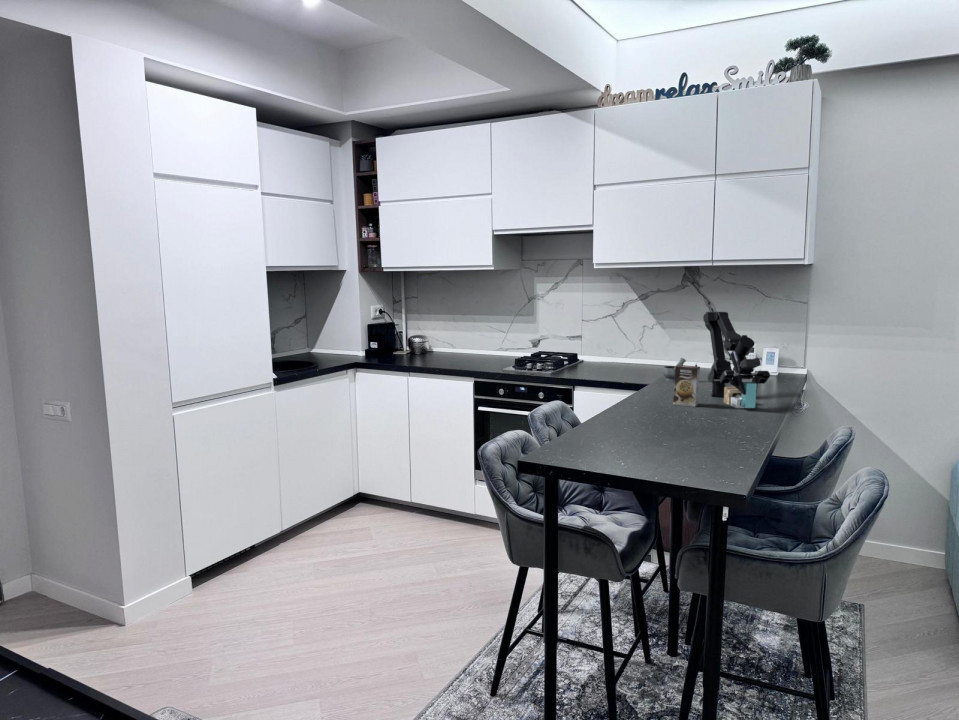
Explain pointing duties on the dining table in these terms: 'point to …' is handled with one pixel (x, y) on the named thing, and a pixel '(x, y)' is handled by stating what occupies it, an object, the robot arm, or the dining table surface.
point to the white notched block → (735, 402)
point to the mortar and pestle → (671, 371)
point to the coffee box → (686, 385)
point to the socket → (730, 394)
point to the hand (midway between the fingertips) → (750, 394)
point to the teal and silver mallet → (747, 395)
